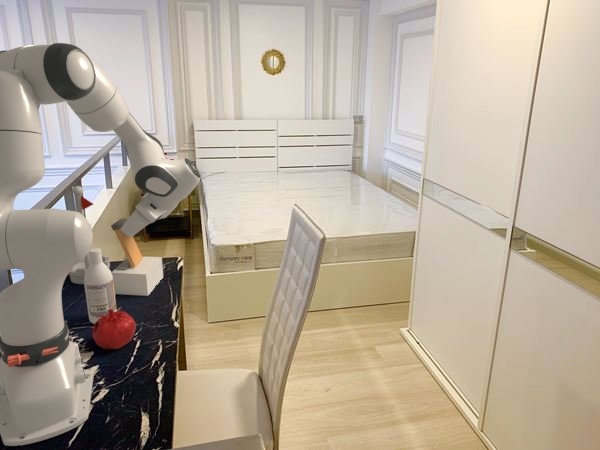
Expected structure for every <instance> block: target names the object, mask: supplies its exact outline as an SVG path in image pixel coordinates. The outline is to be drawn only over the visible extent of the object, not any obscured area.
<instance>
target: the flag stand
mask: <svg viewBox="0 0 600 450" xmlns="http://www.w3.org/2000/svg"><path fill="white" fill-rule="evenodd" d="M72 193H73V194H74V195H75V198H76V205H77V212H79V213H81V214H82V215H83V216H84V217H85V212H84V210H85V209H87V208H89V207H91V206H93V205H94V203H92V202H91V201H89V200H88V199H86V198H85V197H84V196H82V195H83V194H84V189H83V187H82V186H79V185H76V186H74V187H73V189H72ZM102 262H103V263H104V264H105V265H106V266H107V267H108V268H109V269H110V267H111V263H110V258H109V256H108V255H106V254H103V255H102ZM89 265H90V258H89V252H88V254H87V255H86V256H85V257H84V258H83V259H82V260H81V261H80V262H78V263H77V264H76V265H75V266H74V267H73V268H72V269H71V270H70V272H69V273H68V275H69V277H70V281H71V282H72V283H73V284H77V285H84V275H85V272H86V270H87V268H88V266H89ZM68 275H67V276H68Z"/></svg>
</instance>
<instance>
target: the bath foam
mask: <svg viewBox="0 0 600 450" xmlns="http://www.w3.org/2000/svg"><path fill="white" fill-rule="evenodd" d="M102 256H103V255H102V249H101V248H100V247H93V248H92V247H91V248H90V250H89V258H90V265H89V266H88V268H87V270H86V272H85V275H84V284H83V287H84V292H85V294H84V295H85V300H86V306H87V315H88V320H89V322H90V323H91V324H95V323H96V322H97V320H98V319H99V318H102V317H98V316H99V315H102V316H106V315H108V310H110V309H113V312H116V311H118V309H117V304H116V303H117V302H116V294H115V292H114V284H113V277H112V273H111V272H112V271H111V270H110V267H109V268H108V267H107V266H106V265H105V264H104V263H103V262H102ZM96 317H98V318H96Z"/></svg>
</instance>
